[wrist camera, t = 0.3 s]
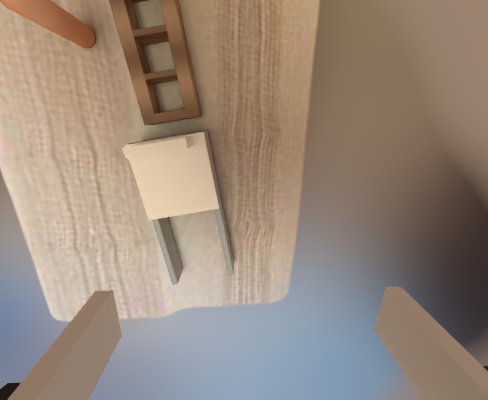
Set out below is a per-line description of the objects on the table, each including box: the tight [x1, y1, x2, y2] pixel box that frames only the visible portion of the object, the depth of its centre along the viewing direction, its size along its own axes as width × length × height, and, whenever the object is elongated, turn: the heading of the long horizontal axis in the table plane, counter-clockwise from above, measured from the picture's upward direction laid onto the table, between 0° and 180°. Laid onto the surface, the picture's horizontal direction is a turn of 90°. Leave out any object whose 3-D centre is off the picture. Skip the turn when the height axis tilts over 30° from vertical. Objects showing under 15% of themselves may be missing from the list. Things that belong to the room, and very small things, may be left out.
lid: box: [122, 132, 219, 220], centre depth 28 cm, size 10×10×5 cm
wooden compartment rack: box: [109, 0, 201, 125], centre depth 29 cm, size 15×7×3 cm, turn 9°
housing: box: [128, 130, 234, 285], centre depth 35 cm, size 22×10×4 cm, turn 9°
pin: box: [0, 0, 95, 48], centre depth 24 cm, size 3×3×10 cm
